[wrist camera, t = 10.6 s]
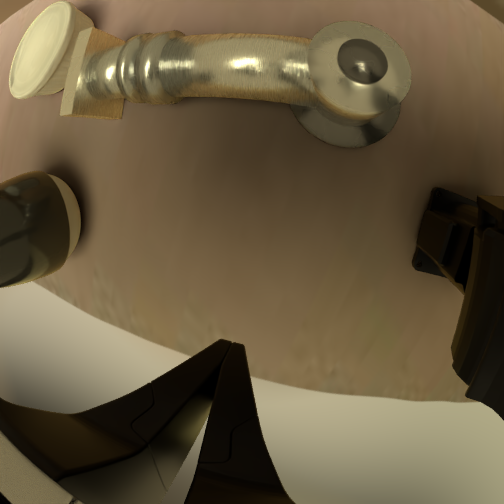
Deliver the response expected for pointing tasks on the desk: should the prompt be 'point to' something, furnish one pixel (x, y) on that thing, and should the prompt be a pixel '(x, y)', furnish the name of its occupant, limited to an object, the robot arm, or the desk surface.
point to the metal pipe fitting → (123, 87)
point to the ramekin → (47, 51)
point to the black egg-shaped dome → (36, 227)
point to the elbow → (280, 70)
